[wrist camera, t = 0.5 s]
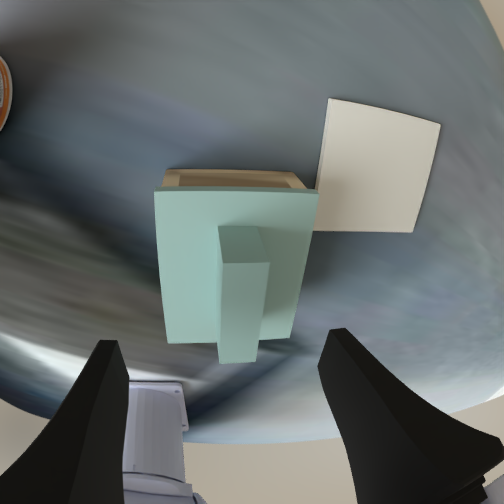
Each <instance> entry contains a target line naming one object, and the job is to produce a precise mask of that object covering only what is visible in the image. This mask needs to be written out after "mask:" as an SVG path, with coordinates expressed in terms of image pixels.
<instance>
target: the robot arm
mask: <svg viewBox="0 0 504 504" xmlns="http://www.w3.org/2000/svg"><path fill="white" fill-rule="evenodd" d="M318 371H319V375H320V379H321V383H322V387H323V391H324V393H325V396H326V398H327V401H328V404H329V406H330V409H331V411H332V414H333V416H334V419H335V421H336V424H337V426H338V429H339V431H340V434H341V436H342V439H343V442H344V445H345V448H346V451H347V455H348V459H349V463H350V467H351V472H352V476H353V481H354V486H355V491H356V497H357V503H358V504H504V474H503V475H502V476H500V477H499V478H497V479H496V480H494V481H493V482H492V483H490V484H489V485H487V486H486V487H484V488H483V486H482V484H483V483H484V482H485V481H486V480H485V478H484V476H483V475H484V474H485V473H487V472H488V471H490V470H491V469H492V468H494V467H495V466H496V465H498V464H499V463H500V462H502V461H503V460H504V446H503V444H502V443H501V441H500V439H499V438H498V437H495V436H493V435H489V434H487V433H484V432H482V431H479V430H477V429H474V428H472V427H470V426H468V425H466V424H464V423H462V422H460V421H458V420H456V419H454V418H452V417H450V416H449V415H447V414H445V413H444V412H442V411H440V410H439V409H437V408H436V407H434V406H433V405H431V404H430V403H428V402H427V401H425V400H424V399H423V398H421V397H420V396H418V395H417V394H416V393H414V392H413V391H412V390H411V389H409V388H408V387H407V386H406V385H405V384H403V383H402V382H401V381H400V380H399V379H398V378H396V377H395V376H394V375H393V374H392V373H391V372H390V371H389V370H388V369H387V368H385V367H384V366H383V365H382V364H381V363H380V362H379V361H378V360H377V359H376V358H375V357H374V356H373V355H372V354H371V353H370V352H369V351H368V350H367V349H366V348H365V347H364V346H363V345H362V344H361V343H360V342H359V341H358V340H357V339H356V338H355V337H354V336H353V335H352V334H351V333H350V332H349V331H348V330H347V329H346V328H340V329H331V330H329V333H328V337H327V340H326V343H325V345H324V348H323V351H322V354H321V357H320V360H319V363H318ZM188 430H189V425H188V419H187V413H186V407H185V400H184V394H183V387H182V384H180V383H176V382H174V383H156V382H129V375H128V372H127V369H126V366H125V363H124V360H123V357H122V354H121V351H120V348H119V344H118V341H117V340H100V341H99V342H98V343H97V345H96V347H95V348H94V350H93V352H92V354H91V356H90V357H89V359H88V361H87V363H86V364H85V366H84V368H83V370H82V371H81V373H80V375H79V376H78V378H77V380H76V381H75V383H74V385H73V386H72V388H71V390H70V391H69V393H68V394H67V396H66V397H65V399H64V400H63V402H62V403H61V405H60V406H59V408H58V409H57V411H56V412H55V414H54V415H53V417H52V418H51V420H50V421H49V422H48V424H47V425H46V426H45V428H44V429H43V430H42V432H41V433H40V434H39V435H38V437H37V438H36V439H35V440H34V441H33V442H32V444H31V445H30V446H29V447H28V448H27V450H26V451H25V452H24V453H23V454H22V455H21V456H20V457H19V458H18V459H17V460H16V461H15V462H14V463H13V464H12V465H11V466H10V467H9V468H8V469H7V470H6V471H5V472H4V473H3V474H2V475H1V476H0V504H207V503H206V501H205V500H204V499H203V498H202V497H201V496H200V495H199V494H198V493H193V492H192V484H187V483H186V482H185V469H184V455H183V438H182V431H188Z"/></svg>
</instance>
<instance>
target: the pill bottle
mask: <svg viewBox="0 0 504 504" xmlns="http://www.w3.org/2000/svg"><path fill="white" fill-rule="evenodd" d="M11 102H12V79H11V74H10V71H9V68H8V66H7V64H6V62H5V61H4V60H3V59H2V57H1V56H0V131H1V129H2V128H3V126H4V124H5V122H6V120H7V117H8V114H9V111H10V107H11Z"/></svg>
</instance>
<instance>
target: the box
mask: <svg viewBox="0 0 504 504" xmlns="http://www.w3.org/2000/svg"><path fill="white" fill-rule="evenodd" d="M169 186H232V187H273V188H298V189H307V188H306V187H305V186H304V184H303V183H302V182H301V181H300V180H299V179H298V178H297V176H296V175H295V174H294V173H293V172H283V171H260V170H223V169H168V170H166V172H165V176H164V179H163V183H162V186H161V187H169Z"/></svg>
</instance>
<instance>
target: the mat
mask: <svg viewBox="0 0 504 504" xmlns="http://www.w3.org/2000/svg"><path fill="white" fill-rule="evenodd" d="M440 126H441V124H438V123H435V122H432V121H429V120H425V119H422V118H418V117H414V116H411V115H407V114H403V113H399V112H395V111H391V110H386V109H382V108H378V107H373V106H368V105H364V104H359V103H353V102H348V101H343V100H337V99H331V98H329V99H328V106H327V113H326V120H325V127H324V134H323V141H322V147H321V154H320V160H319V166H318V172H317V178H316V184H315V190H316V191H317V192H318V193H319V194H320V195H319V200H318V206H317V211H316V216H315V221H314V227H313V231H367V232H413V229H414V225H415V222H416V219H417V216H418V213H419V209H420V206H421V203H422V199H423V196H424V192H425V189H426V185H427V181H428V178H429V174H430V170H431V166H432V162H433V158H434V153H435V149H436V145H437V140H438V136H439V131H440Z"/></svg>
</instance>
